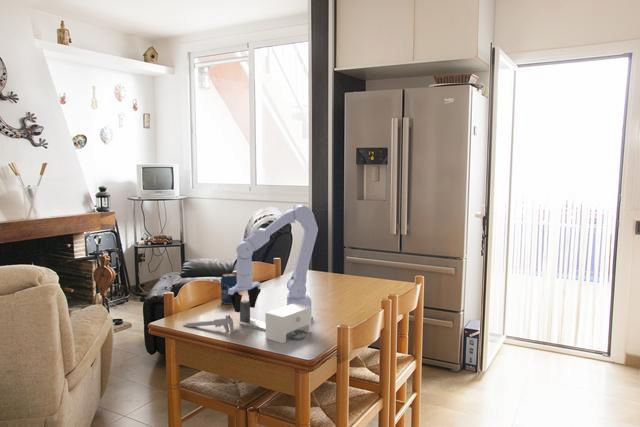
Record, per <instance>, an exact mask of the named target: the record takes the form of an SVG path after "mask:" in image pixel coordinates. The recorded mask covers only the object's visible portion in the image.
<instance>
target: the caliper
mask: <svg viewBox="0 0 640 427" xmlns="http://www.w3.org/2000/svg"><path fill="white" fill-rule="evenodd" d="M182 326H183V327H186V326H188V327H187V328H195V327H206V326H215V328H218V327H219V328H220V327H222V326H223V328H224V329H225V332H226V333H228V332H230V333H233V332H234V327H235V326H234V321H233V317H231V315H230V314H229V315H225V316H224V318H223V317H222V318H215V319H213V320H205V321H191V322H186V323H185V324H183V325H182Z"/></svg>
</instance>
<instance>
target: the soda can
mask: <svg viewBox="0 0 640 427" xmlns="http://www.w3.org/2000/svg"><path fill="white" fill-rule="evenodd" d="M236 284H237V273H229V272H228V273H222V275H221V279H220V301H221V302H222V303H223V304H225V305H233V304H232V301H231V299H230V297H229V296H228V289H230V288H232V287H234V286H236Z"/></svg>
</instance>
